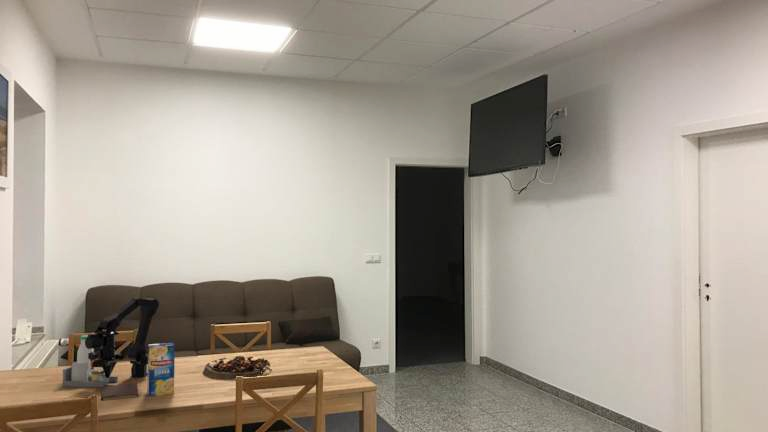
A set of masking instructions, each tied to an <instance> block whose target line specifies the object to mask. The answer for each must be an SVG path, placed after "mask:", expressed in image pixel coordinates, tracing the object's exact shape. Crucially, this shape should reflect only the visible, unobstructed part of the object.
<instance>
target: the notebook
mask: <svg viewBox="0 0 768 432" xmlns="http://www.w3.org/2000/svg"><path fill="white" fill-rule="evenodd" d="M138 396H139V391H138V385H137V383H136V382H134V383H125V384H123V383H122V384H108V385H105V386H102V387H101V399H100V400H101V401H107V400H114V399H115V400H116V399H124V398H125V399H126V398H136V397H138Z"/></svg>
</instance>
